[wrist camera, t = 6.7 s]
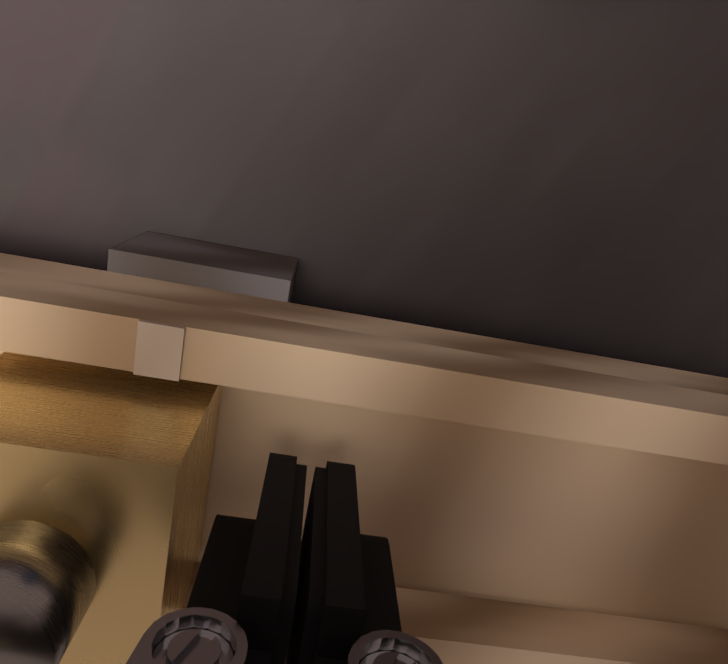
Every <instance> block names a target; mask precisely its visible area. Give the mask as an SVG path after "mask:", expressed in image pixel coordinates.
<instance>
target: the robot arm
mask: <svg viewBox="0 0 728 664" xmlns="http://www.w3.org/2000/svg"><path fill="white" fill-rule="evenodd" d="M306 473H307V465H301V464H297V456H291V455H284V454H277V453H270V454H269V459H268V464H267V469H266V474H265V478H264V483H263V488H262V493H261V498H260V503H259V508H258V513H257V517H256V520H255V519H248V518H241V517H233V516H226V515H218V514H217V515H216V517H215V520H214V523H213V526H212V529H211V532H210V535H209V538H208V542H207V545H206V548H205V551H204V554H203V557H202V560H201V564H200V567H199V570H198V573H197V576H196V579H195V582H194V586H193V589H192V592H191V595H190V598H189V601H188V605H187V608H183V609H179V610H176V611H173V612H170V613H167V614H165V615H164V616H162V617H161V618H159V619H158V620H156V621H154V622H153V623H152V624H151V626H150V627H149V628H148V629H147V630H146V631H145V633H144V634H143V636H142V637H141V639H140V641H139V642H138V644H137V646H136V647H135V649H134V651H133V652H132V654H131V656H130V657H129V659H128V661H127V662H126V664H443V663H442V661H441V659H440V657H439V656H438V655H437V654H436V653H435V652H434V651H433V650H432V649H431V648H430V647H429V646H428V645H427V644H426V643H424V642H423V641H421V640H419V639H418V638H416V637H414V636H412V635H409V634H406V633H403V632H402V629H401V622H400V615H399V608H398V601H397V594H396V587H395V580H394V573H393V567H392V560H391V553H390V546H389V541H388V539H387V538H386V537H380V536H373V535H366V534H360V524H359V510H358V497H357V483H356V469H355V465H352V464H345V463H338V462H332V461H327V464H326V468H321V467H315V471H314V476H313V481H312V487H311V492H310V497H309V503H308V508H307V513H306V519H305V524H304V529H303V535H302V524H303V511H304V499H305V486H306ZM301 537H302V540H301Z"/></svg>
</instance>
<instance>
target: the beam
mask: <svg viewBox="0 0 728 664" xmlns="http://www.w3.org/2000/svg"><path fill="white" fill-rule="evenodd" d="M297 261H298V258H294V257H288V256H283V255H277V254H272V253H266V252H260V251H255V250H249V249H244V248H238V247H233V246H227V245H222V244H216V243H210V242H205V241H199V240H194V239H188V238H183V237H177V236H171V235H166V234H160V233H155V232H149V231H148V232H145V233H143V234H141V235H139V236H136V237H134V238H132V239H130V240H127V241H125V242H123V243H121V244H118V245H116V246H114V247H112V248H109V251H108V264H107V271H104V270H98V269H92V268H86V267H80V266H74V265H69V264H63V263H57V262H51V261H45V260H40V259H34V258H28V257H22V256H16V255H11V254H5V253H0V355H1V354H2V353H4V352H11V353H17V354H24V355H30V356H36V357H43V358H49V359H56V360H62V361H68V362H75V363H81V364H87V365H94V366H100V367H107V368H113V369H119V370H126V371H132V372H133V374H134V375H141V376H147V377H153V378H160V379H166V380H173V381H179V380H180V379H183V380H189V381H196V382H202V383H208V384H215V385H221V386H223V387H222V394H221V401H220V409H219V416H218V423H217V431H216V438H215V445H214V453H213V460H212V467H211V475H210V482H209V489H208V497H207V504H206V511H205V519H204V526H203V533H202V541H201V548H200V554H199V557H198V560H197V563H196V566H195V569H194V572H193V575H192V578H191V581H190V584H189V587H188V590H187V593H186V596H185V599H184V602H183V605H182V608H181V609H183V608H187V605H188V601H189V598H190V595H191V592H192V589H193V586H194V582H195V579H196V576H197V573H198V570H199V567H200V564H201V560H202V557H203V554H204V551H205V548H206V545H207V542H208V538H209V535H210V532H211V529H212V526H213V523H214V520H215V517H216V515H217V514H218V515H226V516H233V517H241V518H248V519H255V520H256V517H257V513H258V508H259V503H260V498H261V493H262V488H263V483H264V478H265V474H266V469H267V464H268V459H269V454H270V453H277V454H284V455H291V456H297V464H301V465H307V473H306V486H305V499H304V511H303V524H302V535H303V529H304V524H305V519H306V513H307V508H308V503H309V497H310V492H311V487H312V481H313V476H314V471H315V467H321V468H326V464H327V461H332V462H338V463H345V464H352V465H355V469H356V483H357V497H358V510H359V524H360V534H366V535H373V536H380V537H386V538H387V539H388V541H389V546H390V553H391V560H392V567H393V573H394V580H395V587H396V594H397V601H398V608H399V615H400V622H401V629H402V632H403V633H406V634H409V635H412V636H414V637H416V638H418V639H419V640H421V641H423V642H424V643H426V644H427V645H428V646H429V647H430V648H431V649H432V650H433V651H434V652H435V653H436V654H437V655H438V656H439V657H440V659H441V661H442V663H443V664H728V378H724V377H718V376H713V375H707V374H701V373H695V372H689V371H684V370H678V369H672V368H666V367H660V366H655V365H649V364H643V363H637V362H631V361H626V360H620V359H614V358H608V357H602V356H597V355H591V354H585V353H579V352H573V351H568V350H562V349H556V348H550V347H544V346H539V345H533V344H527V343H521V342H515V341H510V340H504V339H498V338H492V337H486V336H481V335H475V334H469V333H463V332H457V331H452V330H446V329H440V328H434V327H428V326H423V325H417V324H411V323H405V322H399V321H394V320H388V319H382V318H376V317H370V316H365V315H359V314H353V313H347V312H341V311H336V310H330V309H324V308H318V307H312V306H307V305H301V304H295V303H291V298H292V292H293V286H294V280H295V273H296V267H297ZM301 540H302V537H301Z"/></svg>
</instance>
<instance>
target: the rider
mask: <svg viewBox="0 0 728 664" xmlns="http://www.w3.org/2000/svg"><path fill="white" fill-rule="evenodd" d="M222 387H223V386H221V385H215V384H208V383H202V382H196V381H189V380H183V379H180V380H179V381H173V380H166V379H160V378H153V377H147V376H141V375H134V374H133V372H132V371H126V370H119V369H113V368H107V367H100V366H94V365H87V364H81V363H75V362H68V361H62V360H56V359H49V358H43V357H36V356H30V355H24V354H17V353H11V352H4V353H2V354H1V355H0V664H126V662H127V661H128V659H129V657H130V656H131V654H132V652H133V651H134V649H135V647H136V646H137V644H138V642H139V641H140V639H141V637H142V636H143V634H144V633H145V631H146V630H147V629H148V628H149V627H150V626H151V624H152V623H153V622H154V621H156V620H158V619H159V618H161V617H162V616H164V615H165V614H167V613H170V612H173V611H176V610H179V609H181V608H182V605H183V602H184V599H185V596H186V593H187V590H188V587H189V584H190V581H191V578H192V575H193V572H194V569H195V566H196V563H197V560H198V557H199V554H200V548H201V541H202V533H203V526H204V519H205V511H206V504H207V497H208V489H209V482H210V475H211V467H212V460H213V453H214V445H215V438H216V431H217V423H218V416H219V409H220V401H221V394H222Z"/></svg>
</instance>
